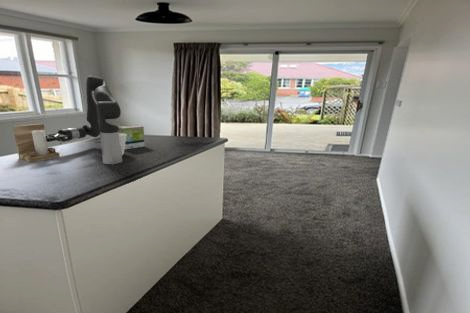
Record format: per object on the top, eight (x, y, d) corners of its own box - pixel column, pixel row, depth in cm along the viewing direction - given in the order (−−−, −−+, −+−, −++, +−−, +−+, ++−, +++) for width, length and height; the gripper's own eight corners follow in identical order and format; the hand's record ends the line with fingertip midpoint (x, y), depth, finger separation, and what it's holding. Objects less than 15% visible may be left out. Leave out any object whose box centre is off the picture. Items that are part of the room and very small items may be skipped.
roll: (50, 153, 140) (46, 130, 137) (39, 156, 136) (34, 132, 132) (45, 152, 143) (41, 129, 139) (34, 154, 138) (29, 131, 135)
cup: (120, 157, 147) (118, 137, 144) (102, 156, 149) (100, 135, 146) (131, 153, 159) (130, 134, 155) (115, 151, 161) (113, 132, 157)
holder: (59, 156, 144) (55, 126, 139) (31, 162, 132) (25, 129, 128) (47, 153, 151) (42, 123, 146) (19, 158, 139) (12, 126, 134)
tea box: (125, 150, 165) (123, 128, 161) (117, 147, 171) (115, 126, 167) (145, 146, 177) (143, 126, 173) (137, 144, 183) (135, 124, 179)
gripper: (59, 127, 154) (31, 131, 139) (76, 129, 149) (49, 133, 135) (61, 139, 156) (33, 144, 141) (78, 141, 151) (51, 147, 137)
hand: (41, 139), depth 138 cm, fingers open, 8 cm apart
